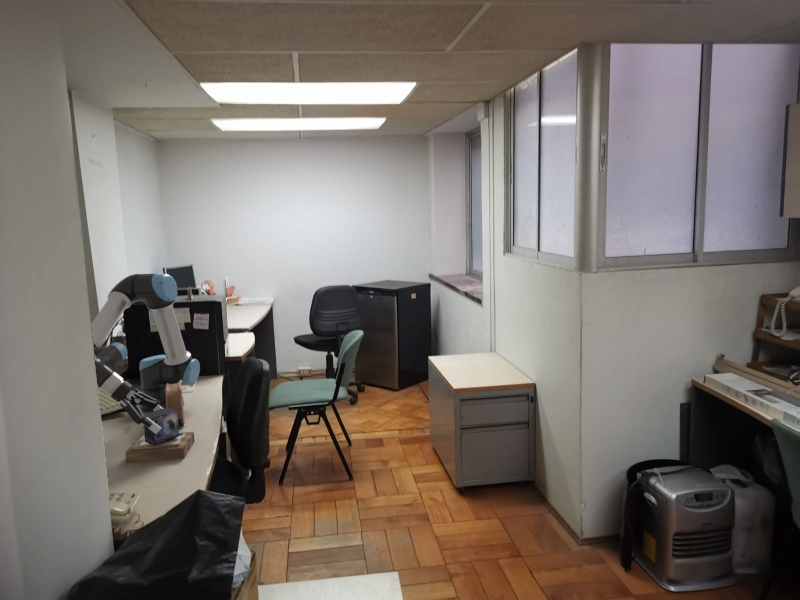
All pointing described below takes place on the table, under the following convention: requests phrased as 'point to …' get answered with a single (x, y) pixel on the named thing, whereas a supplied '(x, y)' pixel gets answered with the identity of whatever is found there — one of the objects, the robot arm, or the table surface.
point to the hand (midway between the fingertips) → (164, 424)
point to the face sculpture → (175, 399)
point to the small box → (162, 426)
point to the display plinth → (160, 449)
